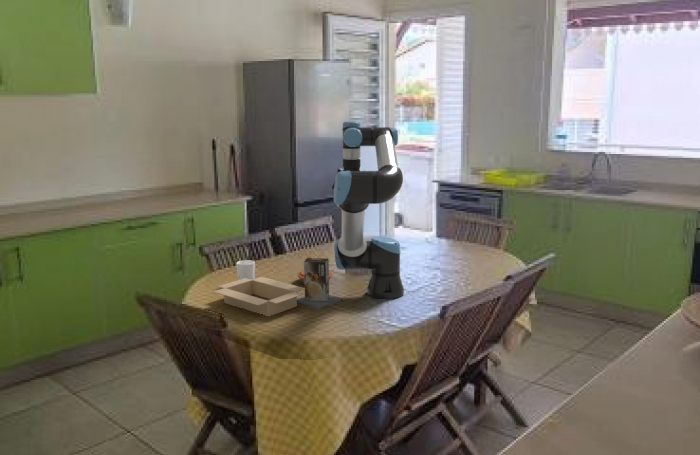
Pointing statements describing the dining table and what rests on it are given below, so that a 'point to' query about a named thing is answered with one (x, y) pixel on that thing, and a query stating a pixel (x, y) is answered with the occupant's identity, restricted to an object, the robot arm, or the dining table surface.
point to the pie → (301, 275)
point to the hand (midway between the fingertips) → (351, 207)
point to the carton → (277, 291)
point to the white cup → (246, 269)
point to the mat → (318, 303)
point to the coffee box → (316, 279)
